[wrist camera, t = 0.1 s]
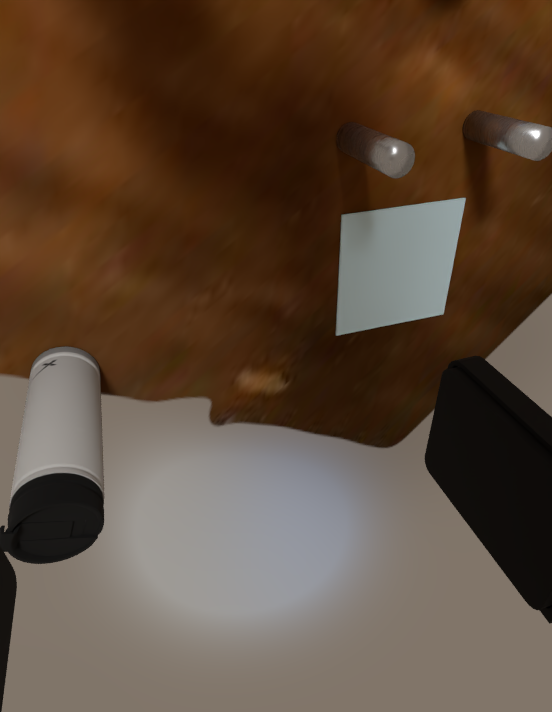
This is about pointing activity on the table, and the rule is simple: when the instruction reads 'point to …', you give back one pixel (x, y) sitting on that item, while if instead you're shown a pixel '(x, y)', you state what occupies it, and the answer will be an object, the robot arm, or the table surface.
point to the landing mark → (396, 264)
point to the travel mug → (58, 461)
